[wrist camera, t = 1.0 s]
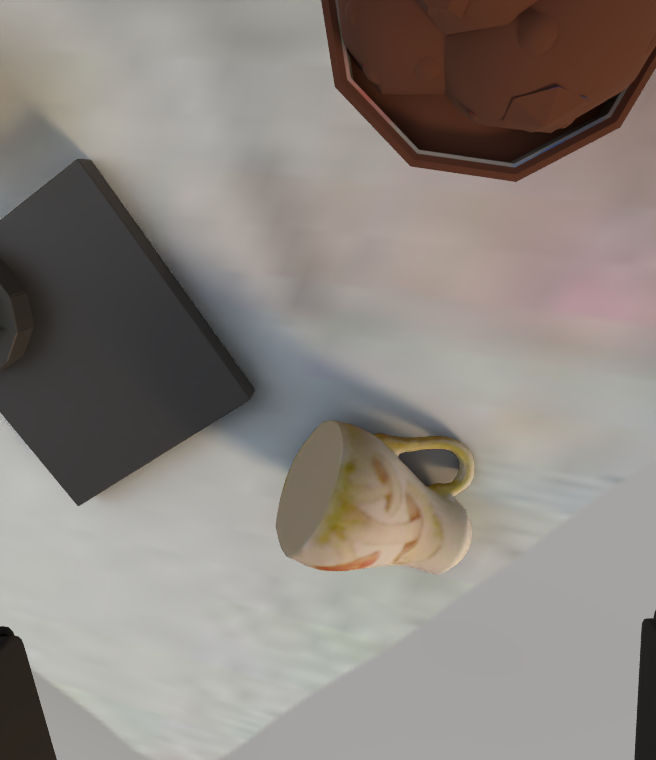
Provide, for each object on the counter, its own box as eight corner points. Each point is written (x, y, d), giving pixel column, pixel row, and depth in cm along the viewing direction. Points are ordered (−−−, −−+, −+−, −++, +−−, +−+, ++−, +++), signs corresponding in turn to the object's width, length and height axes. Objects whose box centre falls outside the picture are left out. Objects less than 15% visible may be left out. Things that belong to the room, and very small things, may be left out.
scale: (-97, 287, 33) (-142, 297, 30) (81, 145, 30) (49, 141, 27) (79, 501, 36) (53, 528, 33) (256, 390, 33) (244, 410, 30)
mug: (440, 575, 36) (345, 675, 28) (329, 453, 39) (214, 510, 31) (525, 498, 32) (443, 588, 24) (395, 368, 35) (283, 409, 27)
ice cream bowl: (300, 119, 29) (221, 55, 15) (415, -145, 25) (458, -564, 11) (500, 223, 30) (612, 258, 15) (638, -21, 26) (948, -270, 12)
